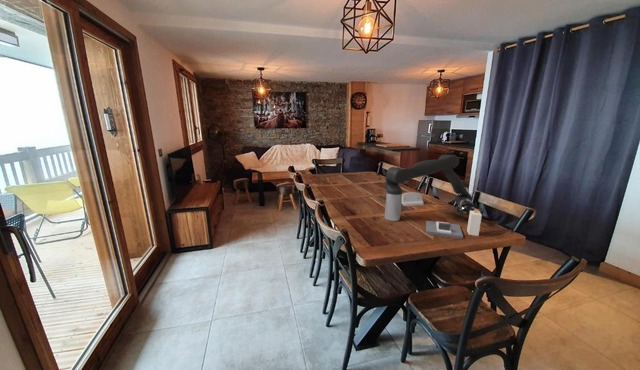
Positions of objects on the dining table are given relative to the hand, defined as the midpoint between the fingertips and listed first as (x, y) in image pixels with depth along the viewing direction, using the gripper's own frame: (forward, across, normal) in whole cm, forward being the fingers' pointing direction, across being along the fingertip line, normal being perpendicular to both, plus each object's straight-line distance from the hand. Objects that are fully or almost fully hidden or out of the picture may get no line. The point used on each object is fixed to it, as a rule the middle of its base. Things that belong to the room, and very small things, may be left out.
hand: (471, 214), depth 147 cm
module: (+10, 0, +7) cm, 13 cm away
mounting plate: (+12, -15, +7) cm, 21 cm away
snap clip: (+16, -15, +5) cm, 22 cm away
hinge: (-31, -34, +8) cm, 47 cm away
